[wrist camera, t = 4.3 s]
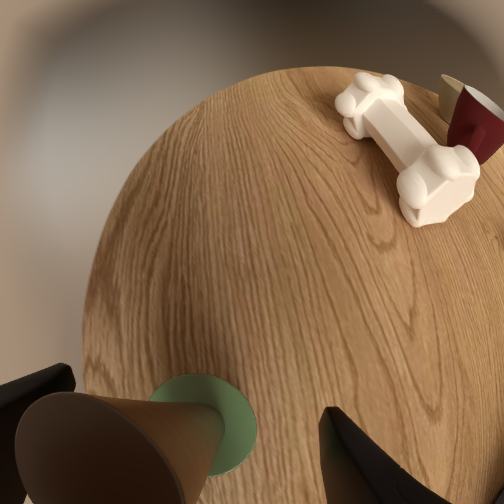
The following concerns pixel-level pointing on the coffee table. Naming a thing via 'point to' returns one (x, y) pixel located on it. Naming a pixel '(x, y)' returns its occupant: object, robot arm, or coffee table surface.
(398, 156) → the dog bone
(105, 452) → the brush
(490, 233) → the coffee table surface
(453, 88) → the flower pot
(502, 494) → the bowl
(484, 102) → the mug
